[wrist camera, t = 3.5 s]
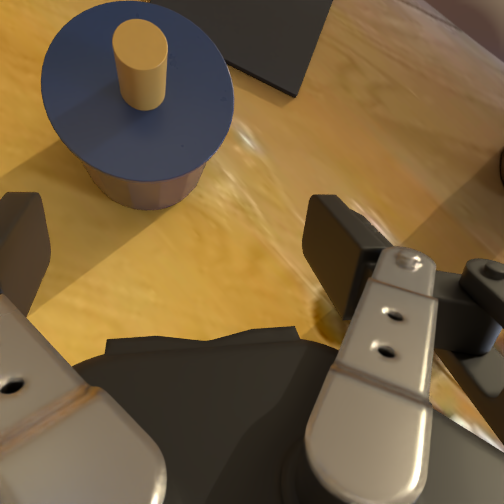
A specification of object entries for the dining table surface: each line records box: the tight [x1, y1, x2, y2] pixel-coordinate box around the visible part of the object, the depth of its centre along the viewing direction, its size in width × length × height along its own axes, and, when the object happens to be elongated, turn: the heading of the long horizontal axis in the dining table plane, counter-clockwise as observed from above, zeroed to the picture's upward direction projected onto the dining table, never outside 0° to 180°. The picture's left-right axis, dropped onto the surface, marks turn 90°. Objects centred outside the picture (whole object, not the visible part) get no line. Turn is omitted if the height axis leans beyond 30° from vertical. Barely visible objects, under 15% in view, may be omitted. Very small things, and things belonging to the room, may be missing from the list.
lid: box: [41, 1, 234, 184], centre depth 24 cm, size 12×12×6 cm
